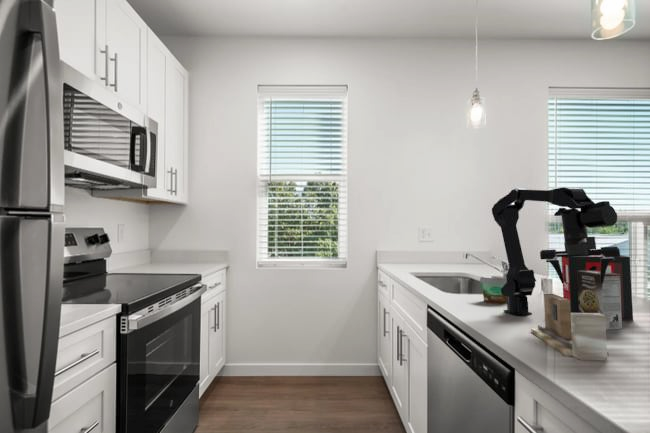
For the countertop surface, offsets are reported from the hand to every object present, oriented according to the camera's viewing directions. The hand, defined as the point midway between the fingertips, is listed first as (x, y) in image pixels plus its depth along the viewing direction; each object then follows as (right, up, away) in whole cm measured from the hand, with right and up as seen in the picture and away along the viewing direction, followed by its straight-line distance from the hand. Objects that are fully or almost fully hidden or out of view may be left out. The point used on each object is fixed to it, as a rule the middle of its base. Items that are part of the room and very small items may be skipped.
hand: (582, 283), depth 104 cm
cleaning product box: (+17, -14, +17) cm, 27 cm away
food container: (-5, -15, +40) cm, 43 cm away
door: (-11, -12, -7) cm, 18 cm away
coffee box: (+9, -14, +5) cm, 17 cm away
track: (-12, -13, -12) cm, 21 cm away
